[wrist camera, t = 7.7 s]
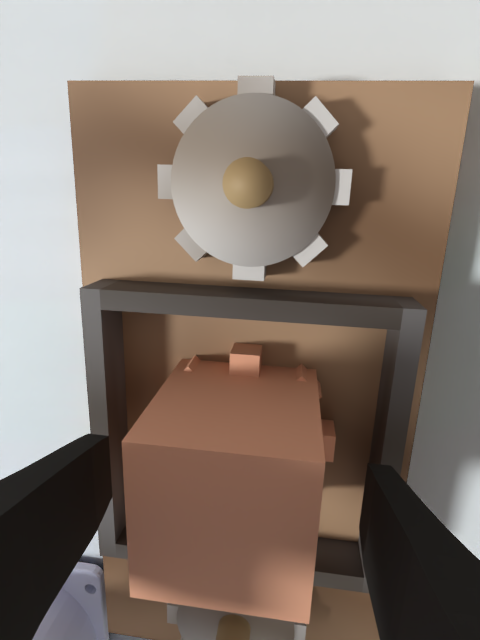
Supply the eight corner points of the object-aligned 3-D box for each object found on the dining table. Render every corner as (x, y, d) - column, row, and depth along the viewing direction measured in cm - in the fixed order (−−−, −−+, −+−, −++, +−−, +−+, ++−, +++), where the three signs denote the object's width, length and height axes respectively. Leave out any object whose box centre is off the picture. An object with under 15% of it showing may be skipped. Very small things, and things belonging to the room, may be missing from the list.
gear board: (369, 645, 18) (383, 737, 15) (119, 606, 19) (85, 683, 16) (457, 92, 12) (511, 55, 9) (87, 90, 13) (24, 58, 10)
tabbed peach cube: (324, 505, 15) (336, 650, 10) (164, 486, 16) (104, 614, 11) (340, 350, 13) (364, 436, 8) (160, 337, 14) (88, 410, 9)
